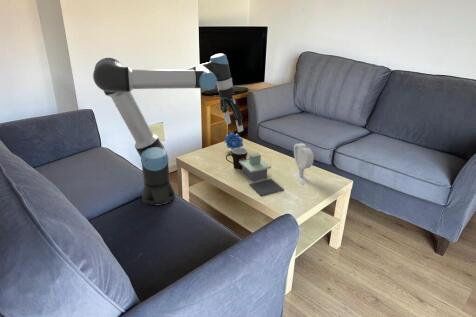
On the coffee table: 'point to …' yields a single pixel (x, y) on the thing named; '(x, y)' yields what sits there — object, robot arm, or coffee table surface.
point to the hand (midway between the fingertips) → (234, 127)
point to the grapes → (233, 141)
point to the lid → (254, 163)
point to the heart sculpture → (302, 161)
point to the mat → (266, 187)
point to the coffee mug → (238, 157)
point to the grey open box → (254, 174)
